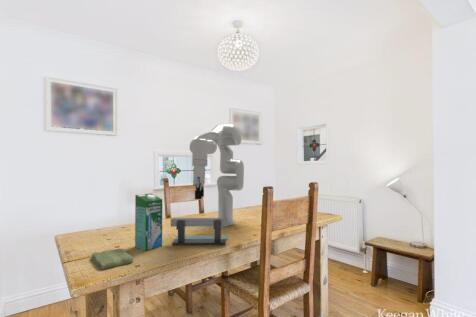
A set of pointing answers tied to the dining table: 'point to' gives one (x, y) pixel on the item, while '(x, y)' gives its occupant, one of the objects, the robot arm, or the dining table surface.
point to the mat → (202, 238)
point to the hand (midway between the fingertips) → (199, 197)
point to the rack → (182, 240)
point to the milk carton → (148, 221)
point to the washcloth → (111, 258)
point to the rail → (199, 221)
